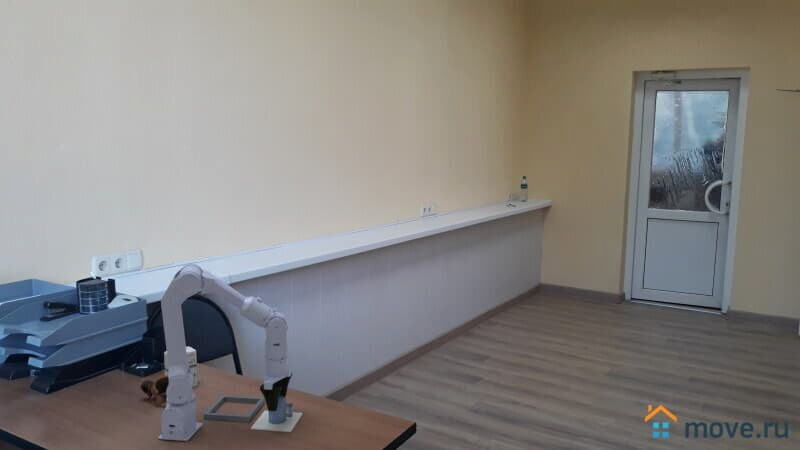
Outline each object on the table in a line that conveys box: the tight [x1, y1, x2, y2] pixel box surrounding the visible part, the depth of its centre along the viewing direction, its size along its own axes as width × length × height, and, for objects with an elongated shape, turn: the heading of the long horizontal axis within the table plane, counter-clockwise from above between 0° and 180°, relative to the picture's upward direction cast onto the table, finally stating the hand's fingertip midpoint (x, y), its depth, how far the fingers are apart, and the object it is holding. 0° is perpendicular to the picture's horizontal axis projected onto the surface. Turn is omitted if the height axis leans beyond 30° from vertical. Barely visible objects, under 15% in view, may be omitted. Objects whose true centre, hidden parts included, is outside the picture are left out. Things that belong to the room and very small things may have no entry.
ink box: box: [163, 346, 198, 388], centre depth 195 cm, size 9×5×12 cm, turn 134°
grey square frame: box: [203, 394, 266, 423], centre depth 179 cm, size 13×13×2 cm
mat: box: [250, 410, 303, 433], centre depth 172 cm, size 11×11×1 cm
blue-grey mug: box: [267, 396, 294, 424], centre depth 172 cm, size 7×5×6 cm
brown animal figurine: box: [139, 375, 169, 408], centre depth 185 cm, size 12×10×8 cm
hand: (276, 404), depth 172 cm, fingers open, 7 cm apart
